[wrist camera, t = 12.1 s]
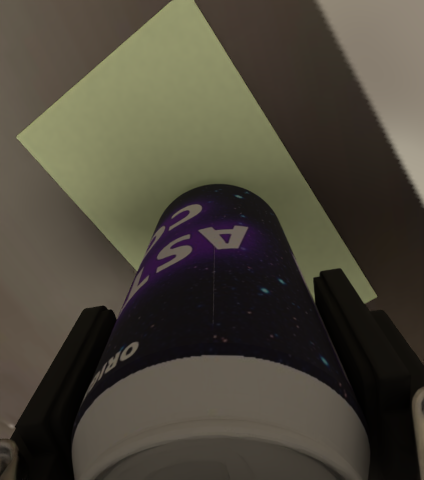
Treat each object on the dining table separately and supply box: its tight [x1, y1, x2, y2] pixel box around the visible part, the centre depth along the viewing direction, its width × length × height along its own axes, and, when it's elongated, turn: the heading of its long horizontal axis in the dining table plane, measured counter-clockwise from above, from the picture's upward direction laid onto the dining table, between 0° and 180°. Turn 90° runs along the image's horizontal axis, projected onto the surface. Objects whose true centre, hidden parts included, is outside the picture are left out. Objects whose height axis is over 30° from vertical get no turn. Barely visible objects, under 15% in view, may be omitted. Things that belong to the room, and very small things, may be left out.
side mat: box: [16, 0, 377, 304], centre depth 17 cm, size 16×9×1 cm, turn 36°
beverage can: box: [71, 184, 371, 480], centre depth 11 cm, size 6×6×12 cm
